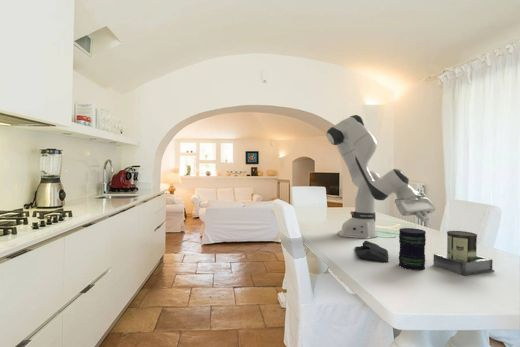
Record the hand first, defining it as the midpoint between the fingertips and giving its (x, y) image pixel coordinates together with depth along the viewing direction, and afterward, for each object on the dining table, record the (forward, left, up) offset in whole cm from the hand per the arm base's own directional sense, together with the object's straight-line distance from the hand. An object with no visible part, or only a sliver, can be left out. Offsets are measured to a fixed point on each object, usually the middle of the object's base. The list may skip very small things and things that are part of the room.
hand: (425, 220), depth 145 cm
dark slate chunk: (-26, -7, -16) cm, 31 cm away
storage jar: (-12, -22, -16) cm, 29 cm away
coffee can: (+8, -19, -16) cm, 26 cm away
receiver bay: (+8, -19, -16) cm, 25 cm away
